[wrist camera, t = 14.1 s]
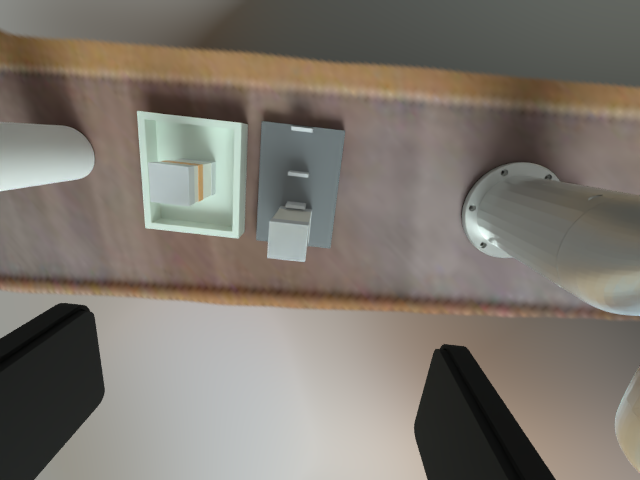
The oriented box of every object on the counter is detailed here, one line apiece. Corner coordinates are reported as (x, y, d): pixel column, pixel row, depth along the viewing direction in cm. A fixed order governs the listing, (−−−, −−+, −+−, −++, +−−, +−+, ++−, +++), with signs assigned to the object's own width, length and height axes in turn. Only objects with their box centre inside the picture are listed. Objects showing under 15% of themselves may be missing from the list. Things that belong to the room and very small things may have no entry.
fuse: (312, 209, 39) (308, 225, 32) (309, 239, 41) (304, 262, 33) (280, 205, 39) (269, 221, 32) (278, 235, 41) (267, 257, 33)
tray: (248, 124, 38) (241, 122, 35) (244, 231, 42) (238, 238, 39) (151, 113, 38) (136, 110, 35) (157, 222, 42) (145, 228, 39)
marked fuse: (215, 161, 39) (188, 166, 31) (215, 193, 40) (189, 206, 32) (183, 158, 39) (148, 162, 31) (184, 190, 40) (150, 201, 32)
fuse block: (344, 131, 38) (346, 130, 34) (330, 244, 42) (330, 253, 39) (264, 121, 38) (258, 120, 34) (258, 236, 42) (252, 244, 39)
